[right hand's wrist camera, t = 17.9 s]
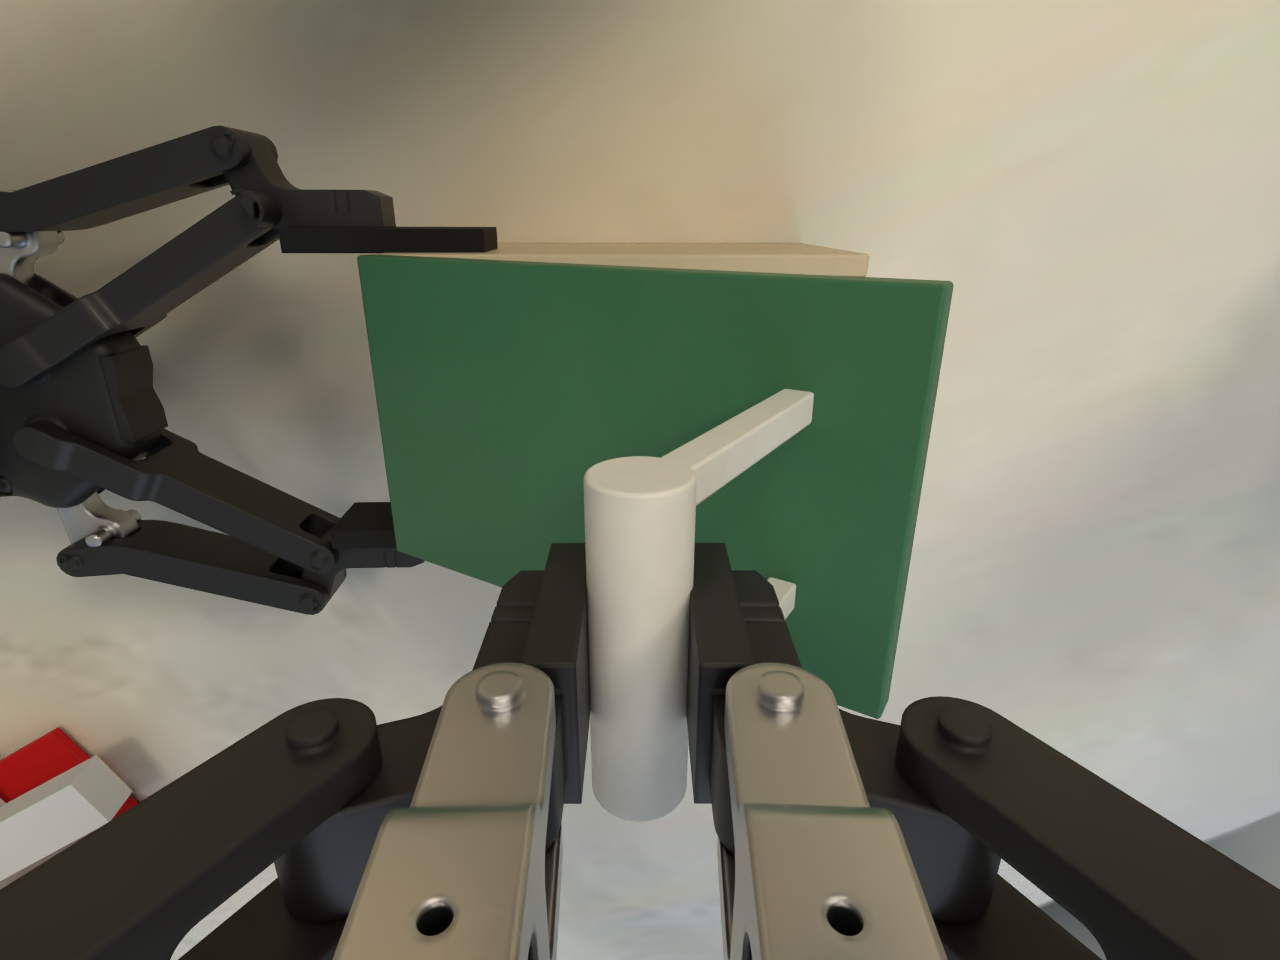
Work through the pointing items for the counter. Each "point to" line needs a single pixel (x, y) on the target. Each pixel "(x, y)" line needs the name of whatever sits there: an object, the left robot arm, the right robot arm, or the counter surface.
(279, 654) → the counter surface
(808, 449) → the lid
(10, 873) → the toy
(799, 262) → the chest
